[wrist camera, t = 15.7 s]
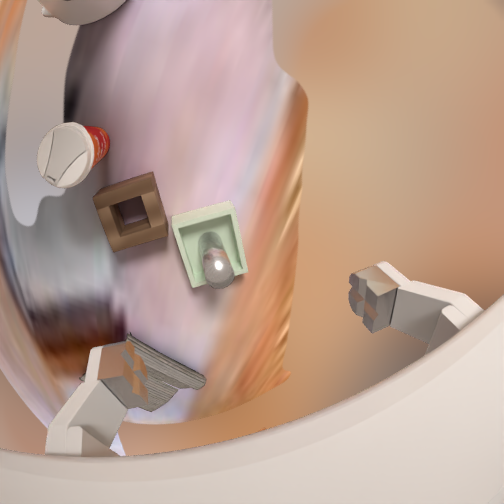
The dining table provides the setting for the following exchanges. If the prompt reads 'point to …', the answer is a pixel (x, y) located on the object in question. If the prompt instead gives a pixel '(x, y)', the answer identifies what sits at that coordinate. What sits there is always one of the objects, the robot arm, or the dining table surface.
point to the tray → (205, 220)
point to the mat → (163, 375)
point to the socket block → (137, 231)
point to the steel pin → (215, 261)
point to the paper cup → (71, 153)
